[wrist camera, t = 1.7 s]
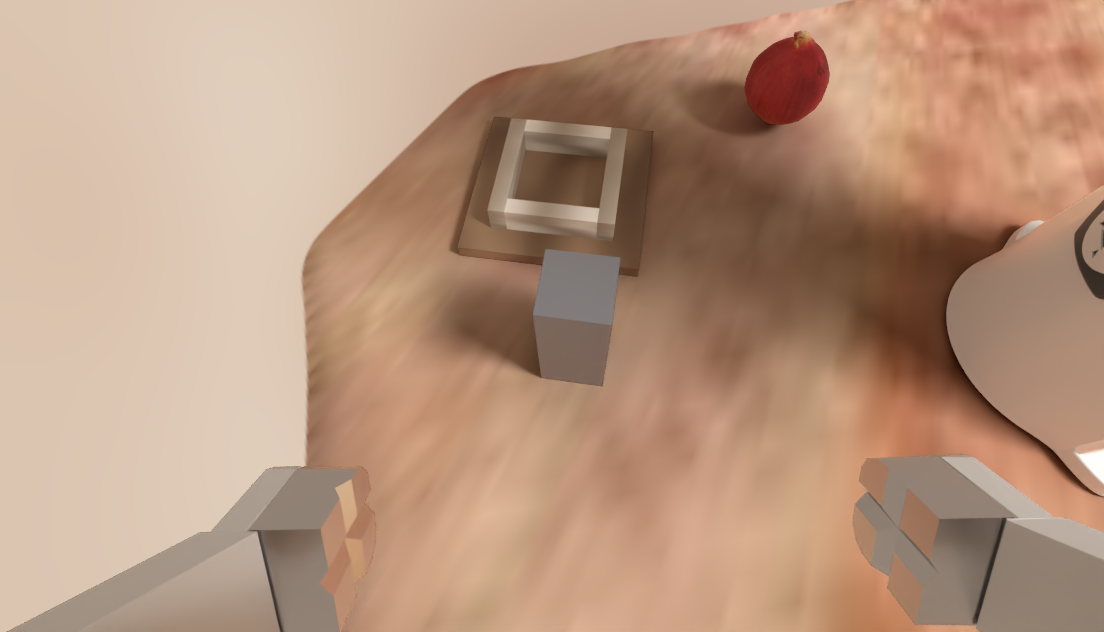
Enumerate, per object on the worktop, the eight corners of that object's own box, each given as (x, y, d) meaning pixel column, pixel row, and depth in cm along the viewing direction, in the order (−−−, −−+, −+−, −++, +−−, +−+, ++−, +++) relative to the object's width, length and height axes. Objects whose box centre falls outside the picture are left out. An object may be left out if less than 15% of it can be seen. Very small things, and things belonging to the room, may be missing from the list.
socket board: (651, 140, 44) (656, 111, 41) (637, 276, 38) (642, 252, 36) (495, 125, 45) (491, 96, 43) (459, 254, 40) (451, 230, 37)
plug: (609, 330, 36) (620, 257, 28) (602, 386, 35) (612, 325, 27) (550, 323, 37) (545, 248, 29) (541, 377, 35) (532, 314, 27)
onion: (782, 88, 46) (820, -3, 39) (820, 134, 44) (869, 46, 37) (721, 107, 46) (749, 17, 38) (757, 155, 43) (794, 68, 36)
